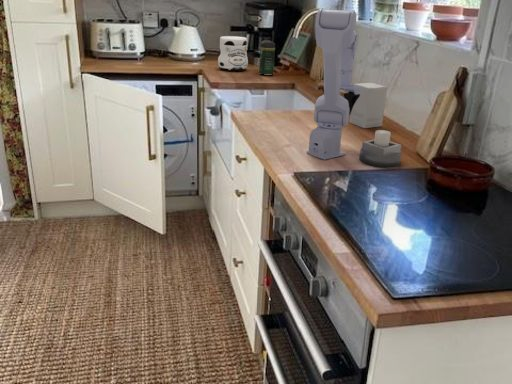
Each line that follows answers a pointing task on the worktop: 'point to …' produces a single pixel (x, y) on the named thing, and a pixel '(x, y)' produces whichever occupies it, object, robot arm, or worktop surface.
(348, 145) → the worktop surface
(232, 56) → the milk container
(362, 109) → the supplement box
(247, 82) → the worktop surface
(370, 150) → the square tube on disc
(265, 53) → the coffee jar
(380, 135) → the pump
